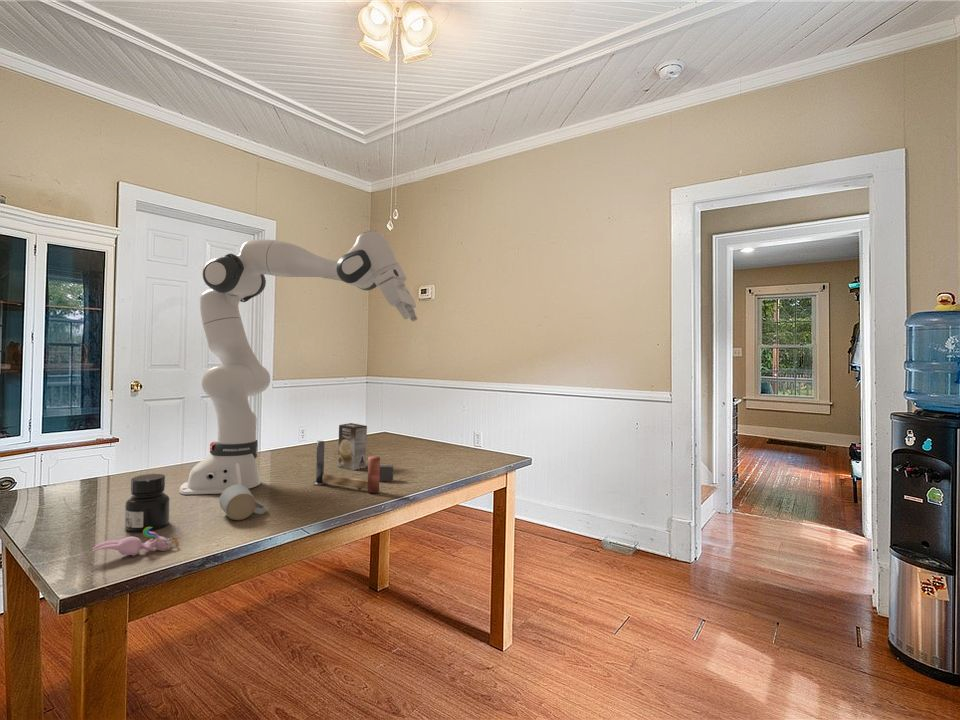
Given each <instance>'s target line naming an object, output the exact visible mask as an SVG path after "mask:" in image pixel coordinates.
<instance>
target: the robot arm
mask: <svg viewBox="0 0 960 720" xmlns="http://www.w3.org/2000/svg"><path fill="white" fill-rule="evenodd" d="M395 257H396V256H395V253H394V250H393V249H392V247H391V245H390V243H389V242H388V240H387V238H386V237H385V236H384V234H383V233H381V232H380V231H377V230H367V231H365V232H361V234H359V235H358V236H357V237H356V239H355V243H354V244H353V246H352V247H351V248H350V249H349V250H348V251H347V252H346V253H345V254H343V255H342V256H340V257H339V259H338V260H335V259H330V258H326V257H323V256H321V255H318V254H315V253H313V252H311V251H309V250H307V249H305V248H304V247H301V246H299V245H297V244H293V243H291V242H287V241H283V240H276V239H264V238H263V239H250V240H247V241H245V242H244V243H243V244H242V245H241V247H240V251H239V254H238V255H236V254H233V253H228V254H226V255H223V256H218V257H215V258H212V259H210V260H209V261H207V262H206V263H205V265H204V266H203V269H202V278H203V281H204V283H205V284H206V285H207V287H209V288H210V289H207V290H205V291H204V292H202V293H201V295H200V297H199V309H200V316H201V322H202V326H203V328H204V329H203V330H204V333H205V338H206V340H207V345H208V348H209V350H210V351H211V353H212V354H214V355H215V356H216V357H217V358H218V359H219V361H220V362H221V364H220V365H219V364H218V365H217V366H214V367H212V368H209V369H208V370H206V371H205V372H204V374H203V375H202V379H201V387H202V390H203V392H204V394H206V395H207V397H209V398H210V400H211V402H212V404H213V406H214V410H215V412H216V417H217V441H215V440H213V441H212V442H210V444H209V453H210V454H209V455H207V456H206V457H205V458H204V459H202V460H201V461H198V463H196V464H195V465H194V466H193V467H192V469H191V470H190V472H189V474H188V480H187V481H185V482H183V483H182V484H181V485H180V487H179V493H180V494H181V495H208V494H209V495H210V494H211V495H212V494H213V495H214V494H222V493H223V491H224V490H225V489H226V488H228V487H230V486H232V485H243V486H245V487H247V488H248V489H249V490H250V489H252V488H255V487H257V486H259V485H261V484H262V482H261V478H260V475H259V471H258V461H257V458H258V455H259V453H258V452H259V443H258V439H257V422H258V421H257V420H258V419H257V415H256V414H255V413H254V412H253V411H252V408H251V406H250V403H249V397H254V396H257V395H259V394H261V393H262V392H264V391H266V390H267V388H268V387H269V386H270V383H271V375H270V371H268V369H266V368H265V367H264V366H263V365H262V364H261V363H260V361H259V360H258V358H257V357H256V355H255V353H254V352H253V349H252V347H251V345H250V343H249V341H248V339H247V338H248V337H247V334H246V330H245V327H244V324H243V321H242V315H241V314H240V310H239V309H240V308H239V304H240V302H241V303H246V302H248V301H250V300H251V299H253V298H255V297H257V296H259V295H260V294H261V293H263V291H264V290H265V288H266V284H267V283H266V282H267V280H266V277H265V275H266V276H267V275H268V276H275V277H281V278H323V279H329V280H334V281H340V282H343V283H346V284H348V285H350V286H354V287H357V288H359V289H360V290H362V291H371V290H373V289H375V288H377V287H378V288H379V290H380V291H381V293H382V295H383V296H384V298H385V300H386V302H387V303H388V304H389V305H390V306H392V307H395V308H396V310H397V311H398V312H399V314H401V316H402V319H403V320H409V319H410V320H411V322H416V321H417V320H418V316H417V314H416V311H415V308H416V307H417V304H416V302H415V299H414V298H413V296H412V294H411V293H410V291H409V289H408V287H407V286H406V283H405V282H406V281H407V277H406V275H405V273H404V270H403V268H402V265H400V263H399V262H398V261H397V259H396V258H395Z"/></svg>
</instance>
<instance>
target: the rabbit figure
mask: <svg viewBox="0 0 960 720" xmlns="http://www.w3.org/2000/svg"><path fill="white" fill-rule="evenodd" d="M151 528H153V527H147V528H145V529H144V530H143V531H142V534H143V536H144V537H146V538H150V539H149V540H147V541H145V542H144V543H142V541H141V539H140V538H139V537H137V536H126V537H124V538H122V539H119V540H116V539H115V540H106V541H102V542H100V543H98V544H97V545H94V547H92V548H91V550H92V551H91V552H92V553H93V552H98V551H100V550H114V551H118V553H119V555H122V556H126V555H128V556H129V555H132V556H131V557H135V556H136V555H137V554H140V551H141V550H147V551H154V550H156V551H159V552H160V551H161V552H167V551H169V550H170V549H171V547H172V545H173V544H176V548H177V549H179V546H180V540H178V538H179V536H177V537H174V536H171V537H169V538H167V537H165V536H160V535H159V534H158V533H156V532H154V531H151V530H150V529H151ZM153 537H154V538H155V539H154V538H153ZM134 555H135V556H134Z"/></svg>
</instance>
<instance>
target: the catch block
mask: <svg viewBox="0 0 960 720" xmlns="http://www.w3.org/2000/svg"><path fill="white" fill-rule="evenodd" d="M379 481H394V465H393V464H391V465H390V464H389V465H388V464H385V465H382V464H380V479H379Z"/></svg>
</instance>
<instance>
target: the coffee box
mask: <svg viewBox="0 0 960 720" xmlns="http://www.w3.org/2000/svg"><path fill="white" fill-rule="evenodd" d="M367 430H368V426H367V425H364V424H359V423H353V422H350V423H343V424H339V425H338V453H337V454H338V455H337V467H339V468H342V469H346V470H350V469H351V471H358V470H361V469H366V467H367V466H366V465H367V464H366V463H367V438H368V437H367V435H368V434H367V433H368V431H367ZM360 468H361V469H360ZM357 469H358V470H357Z"/></svg>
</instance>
